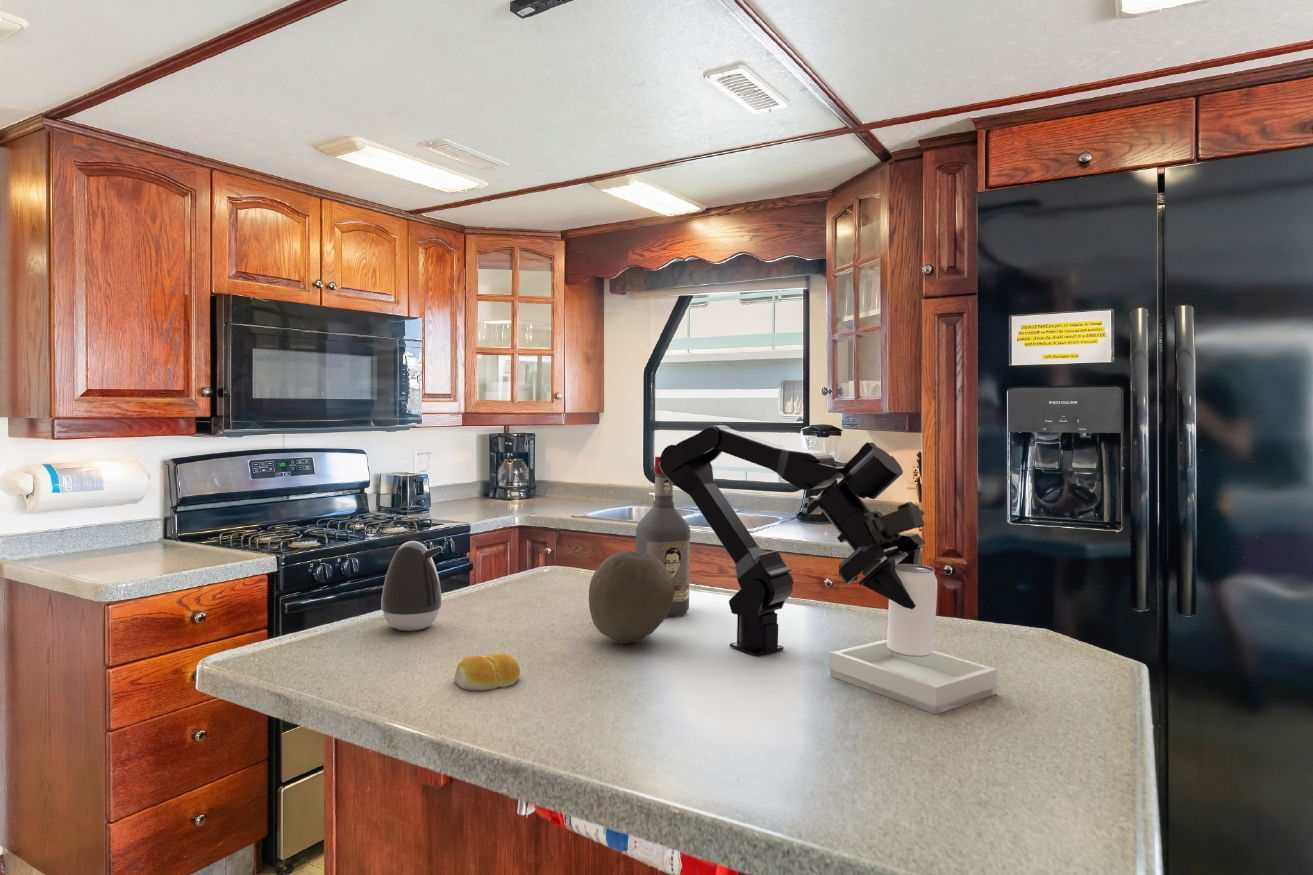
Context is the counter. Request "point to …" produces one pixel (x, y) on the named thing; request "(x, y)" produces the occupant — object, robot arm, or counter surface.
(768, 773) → the counter surface
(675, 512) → the liquor
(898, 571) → the can
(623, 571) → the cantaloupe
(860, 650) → the tray
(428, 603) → the pump dispenser
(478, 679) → the bread roll
